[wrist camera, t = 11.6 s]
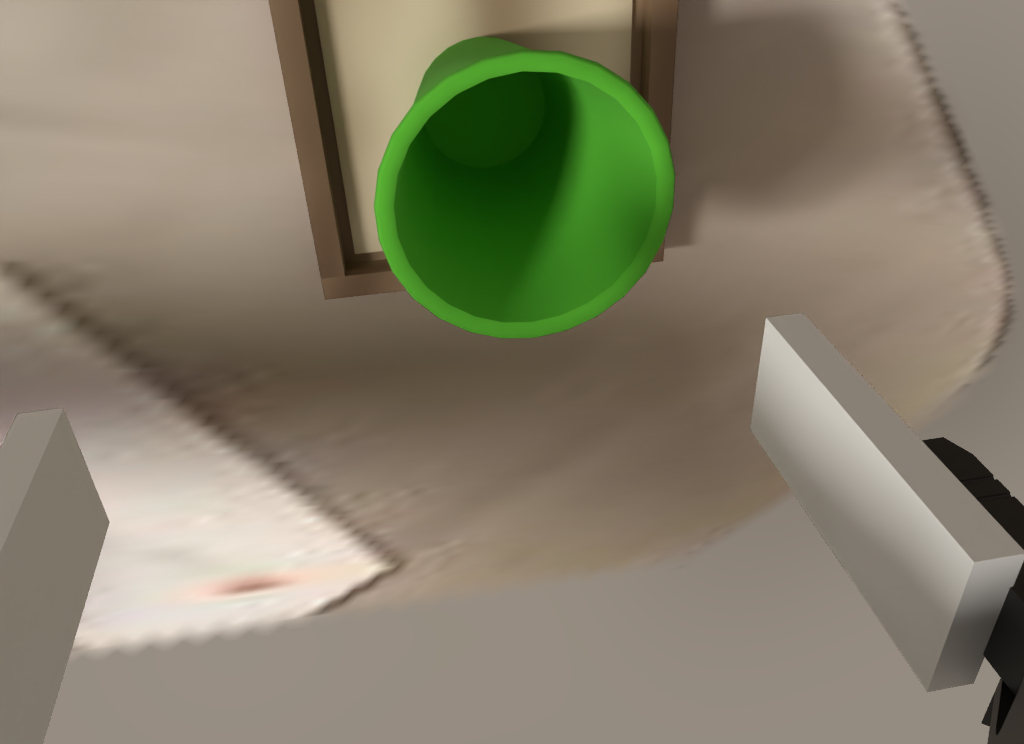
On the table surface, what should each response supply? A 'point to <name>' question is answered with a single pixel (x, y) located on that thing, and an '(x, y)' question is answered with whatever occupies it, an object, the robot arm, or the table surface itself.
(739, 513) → the table surface
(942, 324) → the table surface
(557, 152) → the cup
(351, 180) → the tray
